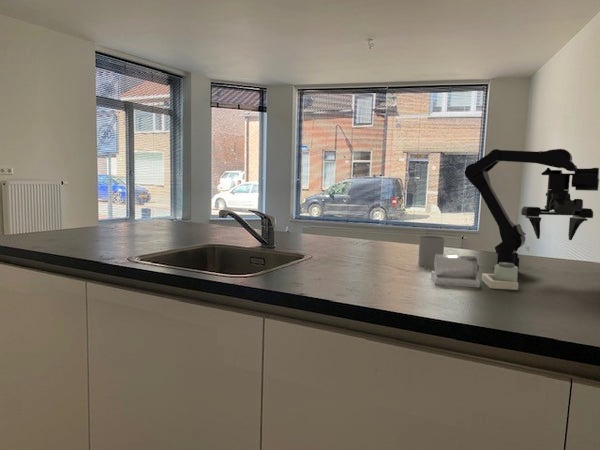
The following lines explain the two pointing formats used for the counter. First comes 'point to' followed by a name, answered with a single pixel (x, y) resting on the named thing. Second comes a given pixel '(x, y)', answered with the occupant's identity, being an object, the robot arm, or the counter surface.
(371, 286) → the counter surface
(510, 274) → the frosted cube with recess
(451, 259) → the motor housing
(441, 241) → the cup
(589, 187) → the robot arm
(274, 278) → the counter surface
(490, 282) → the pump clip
